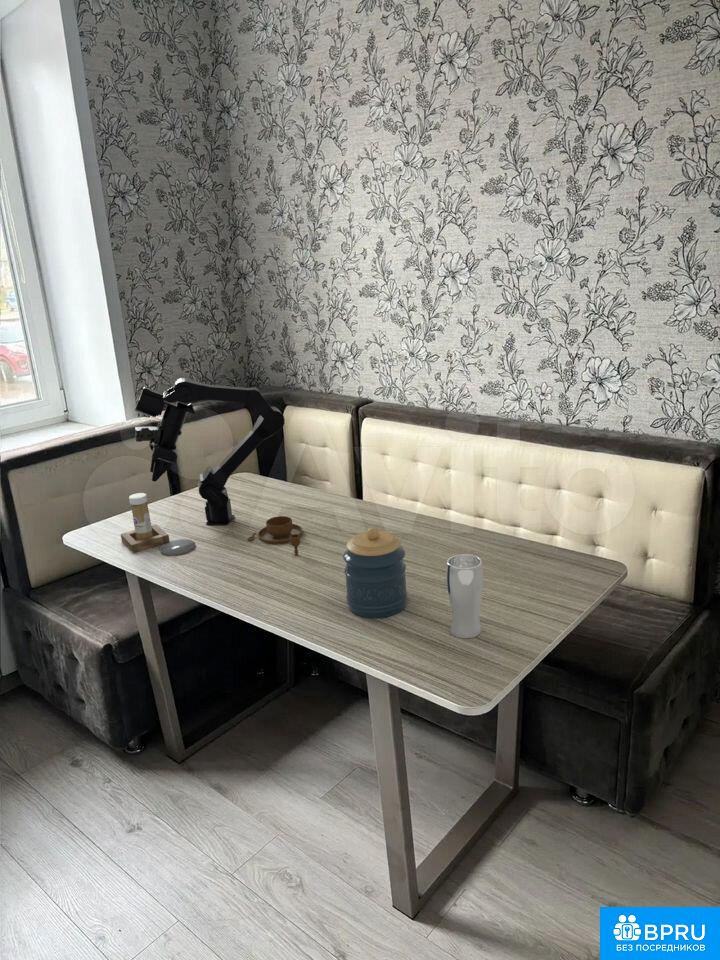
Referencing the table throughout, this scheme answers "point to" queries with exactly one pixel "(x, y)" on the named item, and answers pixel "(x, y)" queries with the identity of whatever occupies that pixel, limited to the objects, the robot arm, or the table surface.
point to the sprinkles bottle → (141, 516)
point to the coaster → (177, 547)
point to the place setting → (280, 532)
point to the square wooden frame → (156, 540)
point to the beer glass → (465, 594)
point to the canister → (375, 574)
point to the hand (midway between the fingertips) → (152, 476)
